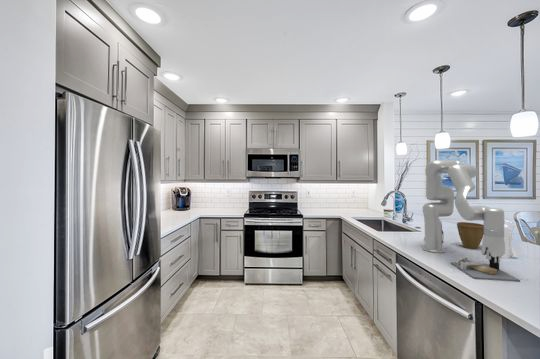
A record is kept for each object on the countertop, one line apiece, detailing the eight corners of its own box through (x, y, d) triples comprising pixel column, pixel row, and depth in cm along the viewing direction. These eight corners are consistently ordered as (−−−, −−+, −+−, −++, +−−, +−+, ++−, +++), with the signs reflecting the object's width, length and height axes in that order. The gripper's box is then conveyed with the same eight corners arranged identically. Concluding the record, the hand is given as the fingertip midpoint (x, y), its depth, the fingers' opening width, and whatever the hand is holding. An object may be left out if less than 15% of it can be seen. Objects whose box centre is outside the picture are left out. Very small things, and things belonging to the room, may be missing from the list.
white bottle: (521, 260, 134) (518, 216, 135) (492, 257, 140) (489, 215, 141) (516, 257, 140) (513, 215, 140) (489, 254, 146) (486, 214, 147)
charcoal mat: (450, 263, 131) (450, 262, 131) (489, 265, 127) (489, 264, 127) (473, 278, 112) (473, 277, 112) (520, 281, 108) (520, 280, 108)
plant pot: (456, 248, 159) (456, 224, 159) (457, 243, 170) (457, 221, 170) (486, 252, 149) (486, 227, 149) (485, 246, 160) (485, 223, 160)
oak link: (458, 263, 128) (458, 257, 128) (463, 262, 129) (463, 256, 129) (491, 274, 113) (491, 267, 113) (497, 273, 114) (497, 266, 114)
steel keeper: (460, 269, 123) (460, 261, 123) (479, 270, 121) (479, 262, 121) (463, 271, 120) (463, 263, 120) (482, 272, 118) (482, 264, 118)
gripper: (494, 230, 123) (494, 265, 123) (475, 232, 118) (475, 269, 118) (512, 233, 116) (513, 270, 116) (493, 236, 111) (493, 274, 111)
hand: (494, 269), depth 117 cm, fingers closed
